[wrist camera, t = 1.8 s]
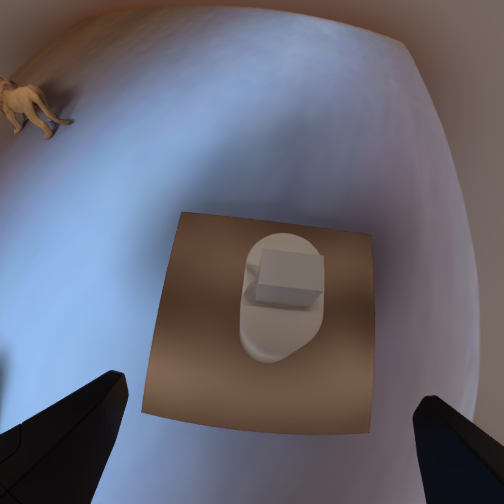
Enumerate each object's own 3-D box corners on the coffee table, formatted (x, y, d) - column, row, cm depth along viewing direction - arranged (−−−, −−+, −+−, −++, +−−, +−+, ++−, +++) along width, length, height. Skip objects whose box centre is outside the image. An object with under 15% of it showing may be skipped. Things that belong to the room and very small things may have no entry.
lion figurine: (-5, 141, 27) (-32, 97, 19) (16, 115, 30) (-7, 71, 22) (60, 141, 27) (30, 80, 19) (83, 110, 29) (61, 52, 21)
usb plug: (294, 365, 15) (337, 346, 8) (236, 359, 15) (234, 337, 8) (300, 282, 17) (337, 213, 10) (246, 276, 17) (252, 202, 10)
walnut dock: (344, 426, 17) (368, 432, 13) (160, 408, 17) (141, 412, 13) (350, 260, 22) (370, 235, 18) (190, 241, 22) (181, 211, 18)
